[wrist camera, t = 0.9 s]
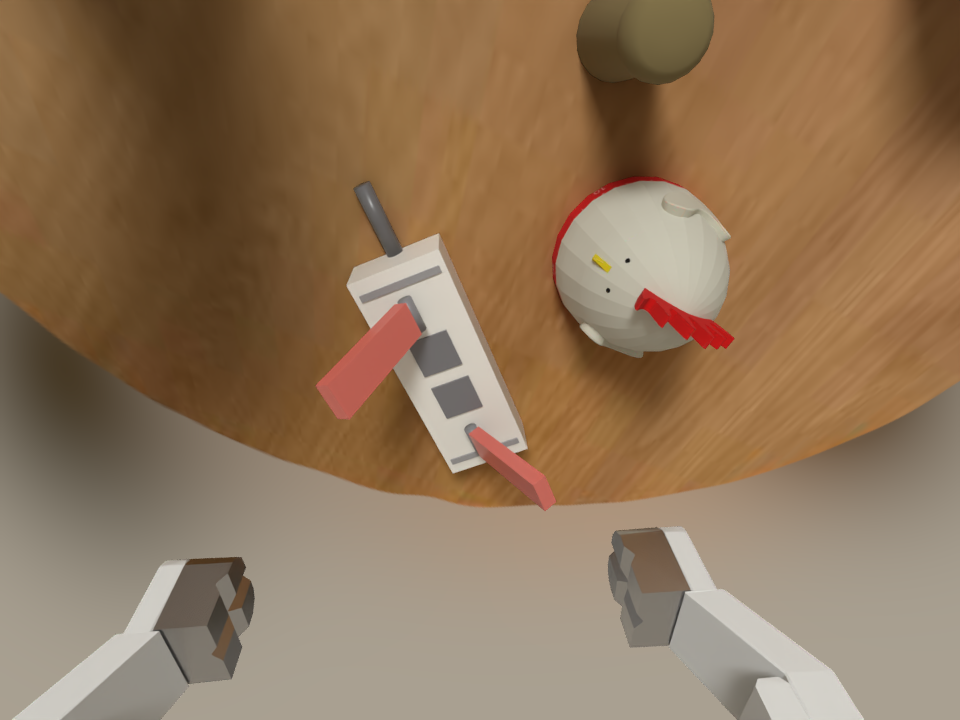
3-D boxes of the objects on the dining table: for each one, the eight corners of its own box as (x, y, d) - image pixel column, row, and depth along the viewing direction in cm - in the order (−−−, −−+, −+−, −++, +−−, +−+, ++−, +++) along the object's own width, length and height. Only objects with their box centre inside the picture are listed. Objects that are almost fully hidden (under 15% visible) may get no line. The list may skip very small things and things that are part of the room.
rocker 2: (462, 428, 49) (533, 485, 40) (472, 421, 49) (544, 475, 40) (473, 451, 51) (545, 511, 41) (483, 444, 51) (556, 501, 42)
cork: (619, 100, 40) (672, 118, 30) (559, 45, 38) (596, 46, 28) (678, 24, 37) (756, 17, 28) (617, -39, 35) (678, -70, 26)
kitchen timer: (608, 145, 41) (681, 190, 29) (741, 220, 45) (858, 289, 32) (524, 292, 48) (552, 384, 35) (647, 347, 51) (713, 449, 38)
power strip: (318, 202, 42) (306, 216, 39) (408, 163, 41) (404, 175, 38) (452, 447, 56) (452, 474, 53) (522, 423, 55) (528, 450, 52)
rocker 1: (402, 296, 42) (315, 385, 35) (413, 294, 42) (327, 385, 34) (417, 326, 44) (337, 418, 36) (429, 325, 43) (349, 419, 36)
